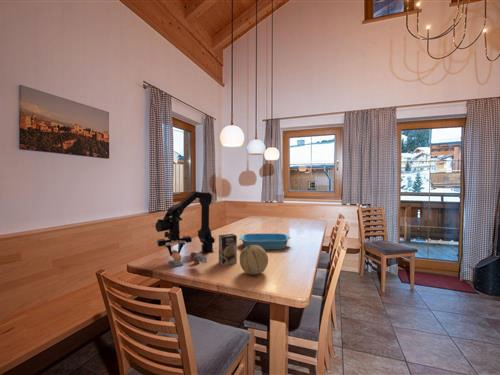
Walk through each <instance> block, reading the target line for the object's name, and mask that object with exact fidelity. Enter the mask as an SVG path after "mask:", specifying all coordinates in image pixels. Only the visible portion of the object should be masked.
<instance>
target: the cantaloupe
mask: <svg viewBox="0 0 500 375" xmlns="http://www.w3.org/2000/svg"><path fill="white" fill-rule="evenodd" d="M268 263H269V256H268V254H267V252H266V249H263V248H262V247H260V246H258V245H250V246H249V245H248V247H246V248H245V247H244V248H243V249H242V250H241V252H240V254H239V265H240V268H241V269H242V270H243V271H244V272H245V274H248V275H252V276H254V275H259V274H261V273H263V272H264V271H265V270H266V269H267V267H268Z"/></svg>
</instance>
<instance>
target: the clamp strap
mask: <svg viewBox="0 0 500 375" xmlns="http://www.w3.org/2000/svg"><path fill="white" fill-rule="evenodd" d="M196 258H197V259H198V260H199V263H201V264H207V263H208V259H207V257H206V256H205V255H204V254H202V252H198V253H196Z"/></svg>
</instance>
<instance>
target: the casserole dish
mask: <svg viewBox="0 0 500 375" xmlns="http://www.w3.org/2000/svg"><path fill="white" fill-rule="evenodd" d="M290 239H291V236H289V235H288V234H285V233H279V232H278V233H271V232H269V233H262V232H261V233H244V234H243V235H239V240H241V241H242V244H243V246H244V248H246V247H248V245H249V246H250V245H258V246H260V247H262V248H263V249H264V250H283V249H284V248H285V247H286V246H287V245H288V241H289V240H290Z"/></svg>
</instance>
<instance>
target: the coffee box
mask: <svg viewBox="0 0 500 375" xmlns="http://www.w3.org/2000/svg"><path fill="white" fill-rule="evenodd" d="M237 243H238V236H237V235H236V234H235V233H229V234H227V233H225V234H219V235H218V263H219V264H220V265H221V266H227V265H232V264H237V263H238V262H237V260H238V258H237V253H238V249H237V248H238V247H237V246H238V244H237Z"/></svg>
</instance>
